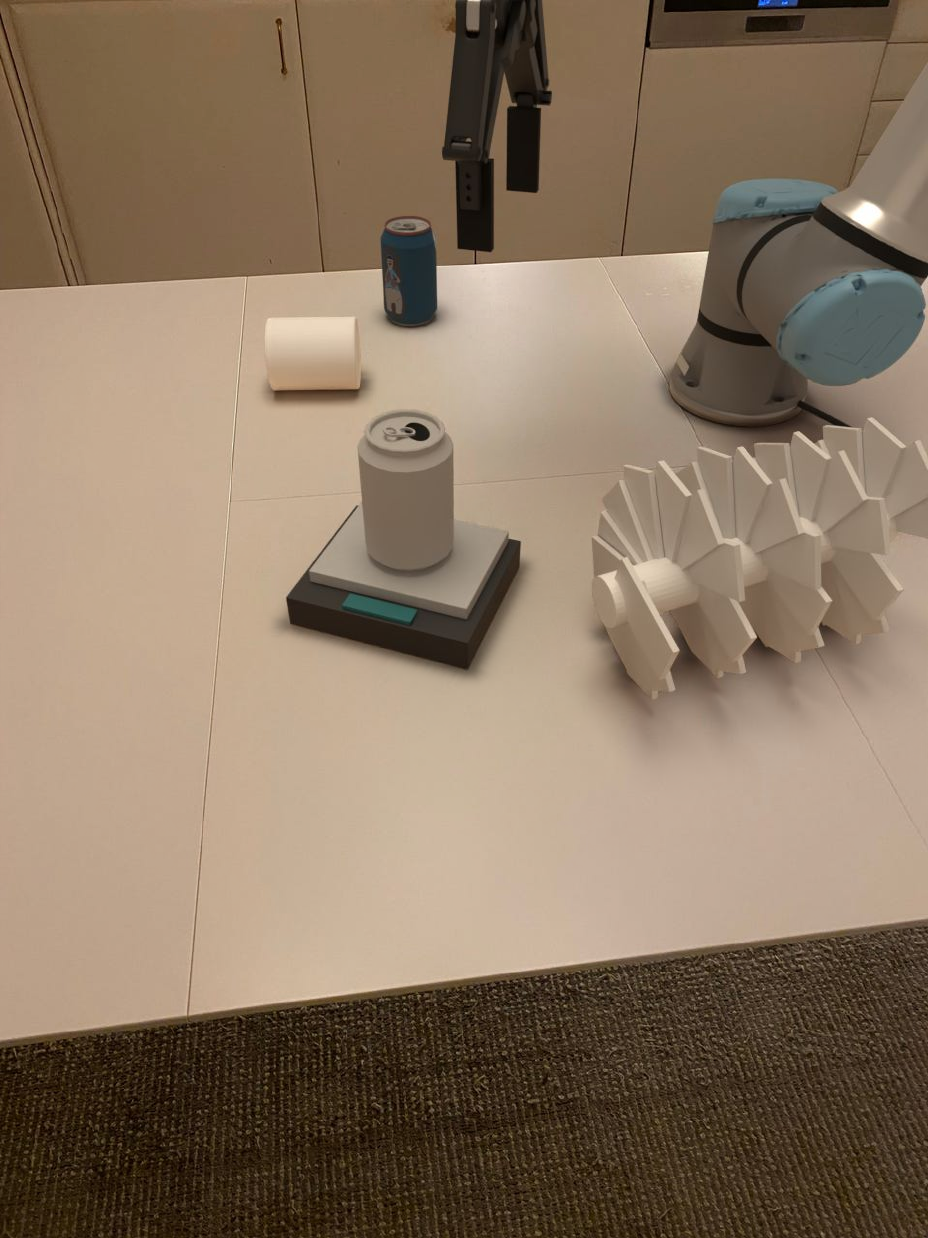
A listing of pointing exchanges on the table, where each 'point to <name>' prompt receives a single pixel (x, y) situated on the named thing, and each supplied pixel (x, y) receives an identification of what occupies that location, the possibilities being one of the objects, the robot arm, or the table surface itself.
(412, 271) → the soda can
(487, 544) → the scale
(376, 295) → the table surface
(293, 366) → the white coffee cup
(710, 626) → the spiral staircase
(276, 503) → the table surface
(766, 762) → the table surface
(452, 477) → the can
